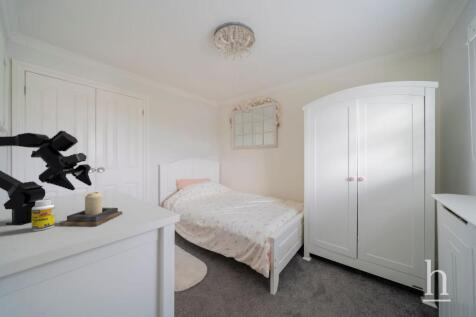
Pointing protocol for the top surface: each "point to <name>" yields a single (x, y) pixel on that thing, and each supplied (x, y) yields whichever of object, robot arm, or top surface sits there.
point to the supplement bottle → (43, 215)
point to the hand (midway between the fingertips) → (83, 187)
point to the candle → (93, 203)
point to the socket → (91, 218)
